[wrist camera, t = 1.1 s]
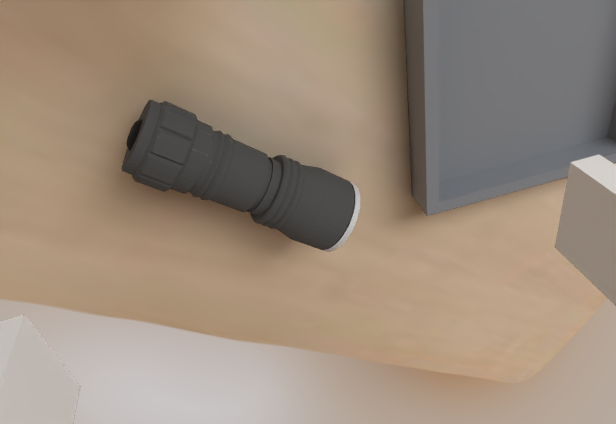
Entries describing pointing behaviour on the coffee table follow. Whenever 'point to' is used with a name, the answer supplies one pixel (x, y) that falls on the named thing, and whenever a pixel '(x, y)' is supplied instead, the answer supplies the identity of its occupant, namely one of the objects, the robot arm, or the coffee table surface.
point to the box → (506, 94)
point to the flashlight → (240, 177)
